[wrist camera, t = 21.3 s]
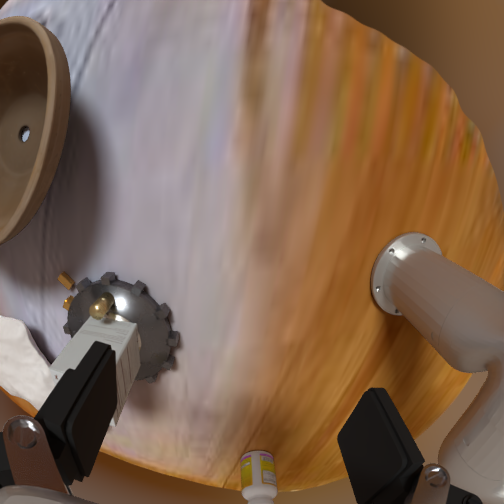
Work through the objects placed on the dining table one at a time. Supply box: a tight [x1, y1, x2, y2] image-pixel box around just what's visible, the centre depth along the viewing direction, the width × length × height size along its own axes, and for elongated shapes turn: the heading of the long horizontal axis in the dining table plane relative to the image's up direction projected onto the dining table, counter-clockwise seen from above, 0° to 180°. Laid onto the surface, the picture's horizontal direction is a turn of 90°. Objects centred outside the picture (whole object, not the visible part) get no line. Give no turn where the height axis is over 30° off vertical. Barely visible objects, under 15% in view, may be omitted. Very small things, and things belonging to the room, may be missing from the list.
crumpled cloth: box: [0, 315, 55, 410], centre depth 38 cm, size 24×35×9 cm
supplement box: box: [49, 316, 140, 427], centre depth 31 cm, size 7×7×13 cm
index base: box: [58, 272, 75, 290], centre depth 39 cm, size 14×5×1 cm, turn 46°
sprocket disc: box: [63, 272, 179, 383], centre depth 37 cm, size 18×18×6 cm
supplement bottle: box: [241, 451, 278, 504], centre depth 44 cm, size 7×7×13 cm
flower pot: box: [0, 16, 71, 245], centre depth 25 cm, size 28×28×13 cm
